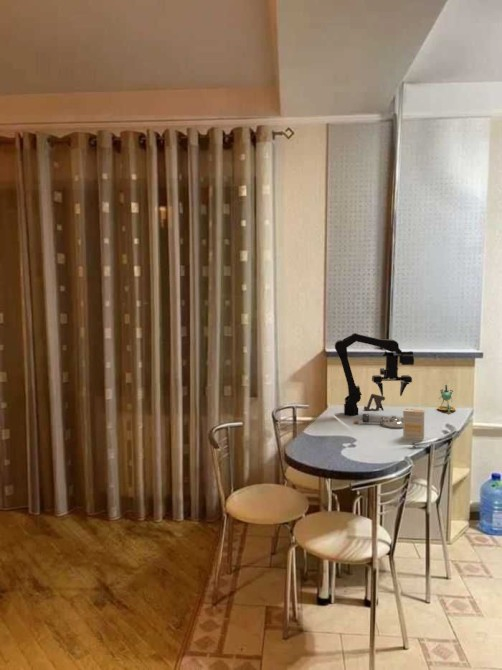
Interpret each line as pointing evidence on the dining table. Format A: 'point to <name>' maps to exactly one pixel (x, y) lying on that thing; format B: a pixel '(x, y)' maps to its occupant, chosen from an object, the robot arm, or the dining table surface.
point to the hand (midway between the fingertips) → (391, 395)
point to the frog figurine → (446, 396)
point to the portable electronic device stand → (377, 402)
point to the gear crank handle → (386, 421)
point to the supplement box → (413, 424)
